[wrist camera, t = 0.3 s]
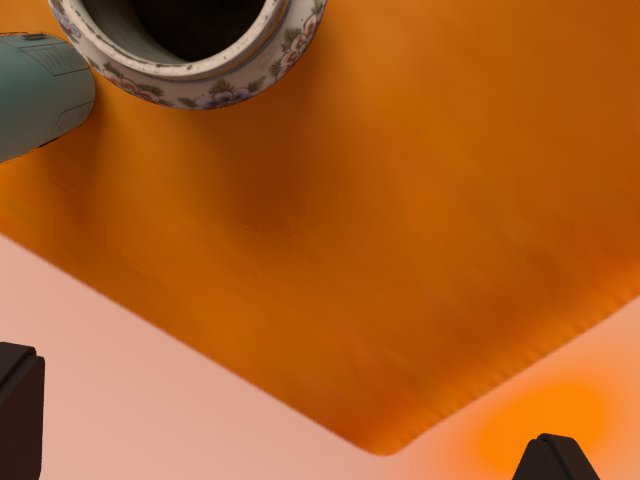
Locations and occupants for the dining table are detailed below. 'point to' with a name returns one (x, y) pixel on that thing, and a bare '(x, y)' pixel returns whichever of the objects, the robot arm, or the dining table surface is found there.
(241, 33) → the apothecary jar
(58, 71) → the beverage bottle
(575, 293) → the dining table surface
